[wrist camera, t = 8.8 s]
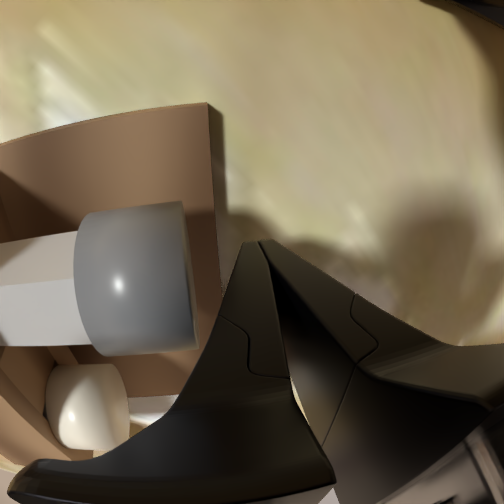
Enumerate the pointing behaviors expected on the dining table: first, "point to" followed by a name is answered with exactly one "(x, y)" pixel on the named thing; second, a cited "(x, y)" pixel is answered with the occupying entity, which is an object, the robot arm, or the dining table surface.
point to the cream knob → (87, 406)
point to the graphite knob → (104, 284)
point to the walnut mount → (68, 220)
